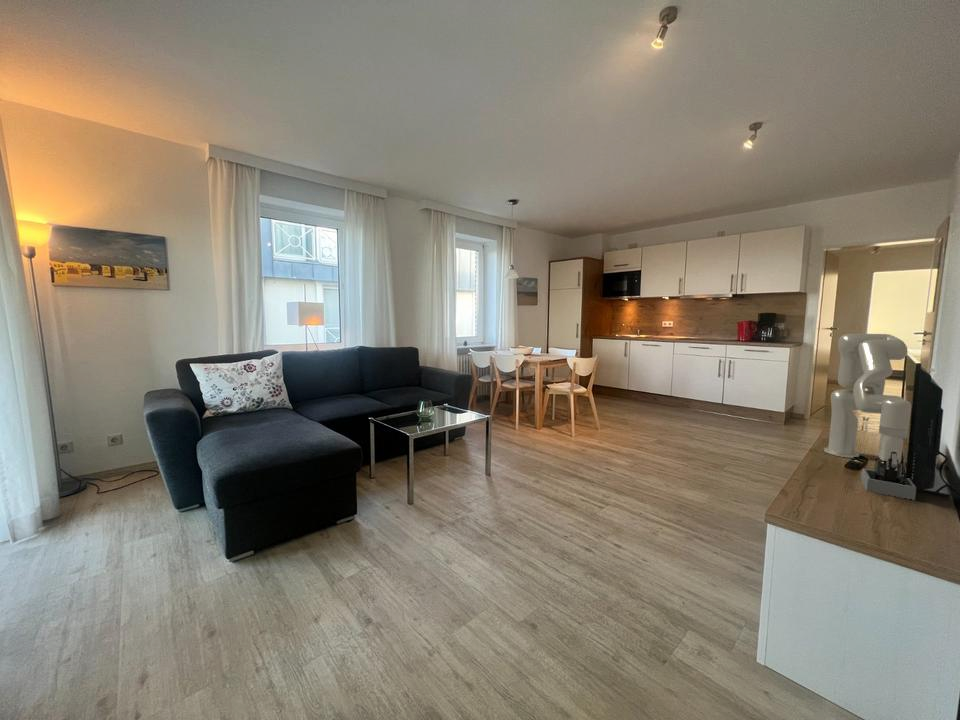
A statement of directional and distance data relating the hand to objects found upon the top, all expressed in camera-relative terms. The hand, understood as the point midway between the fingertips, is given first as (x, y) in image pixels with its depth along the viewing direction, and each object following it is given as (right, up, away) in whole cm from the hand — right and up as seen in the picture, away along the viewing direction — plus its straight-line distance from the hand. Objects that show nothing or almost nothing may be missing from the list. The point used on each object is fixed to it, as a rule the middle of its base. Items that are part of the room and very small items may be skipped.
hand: (887, 475), depth 150 cm
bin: (0, -6, 0) cm, 6 cm away
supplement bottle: (0, -4, 0) cm, 4 cm away
